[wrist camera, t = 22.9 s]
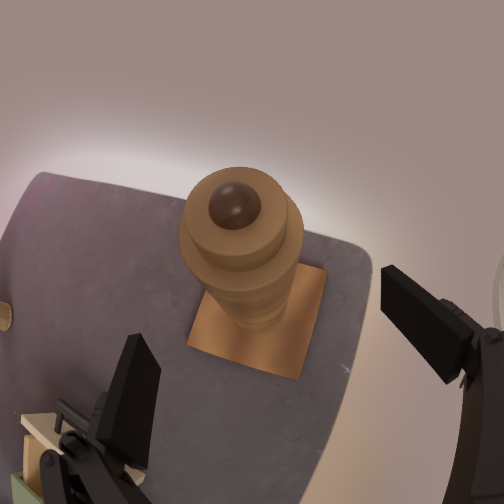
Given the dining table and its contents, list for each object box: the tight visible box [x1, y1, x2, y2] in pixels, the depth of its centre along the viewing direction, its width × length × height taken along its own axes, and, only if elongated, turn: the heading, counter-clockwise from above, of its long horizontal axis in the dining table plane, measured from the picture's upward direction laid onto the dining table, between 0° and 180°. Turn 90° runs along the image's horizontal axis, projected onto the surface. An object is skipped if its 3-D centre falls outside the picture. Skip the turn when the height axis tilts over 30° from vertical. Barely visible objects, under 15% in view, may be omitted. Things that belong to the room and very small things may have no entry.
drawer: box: [21, 399, 145, 501], centre depth 15 cm, size 19×13×6 cm
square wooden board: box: [186, 263, 328, 380], centre depth 26 cm, size 11×11×1 cm
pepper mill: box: [178, 167, 304, 335], centre depth 17 cm, size 5×5×18 cm
